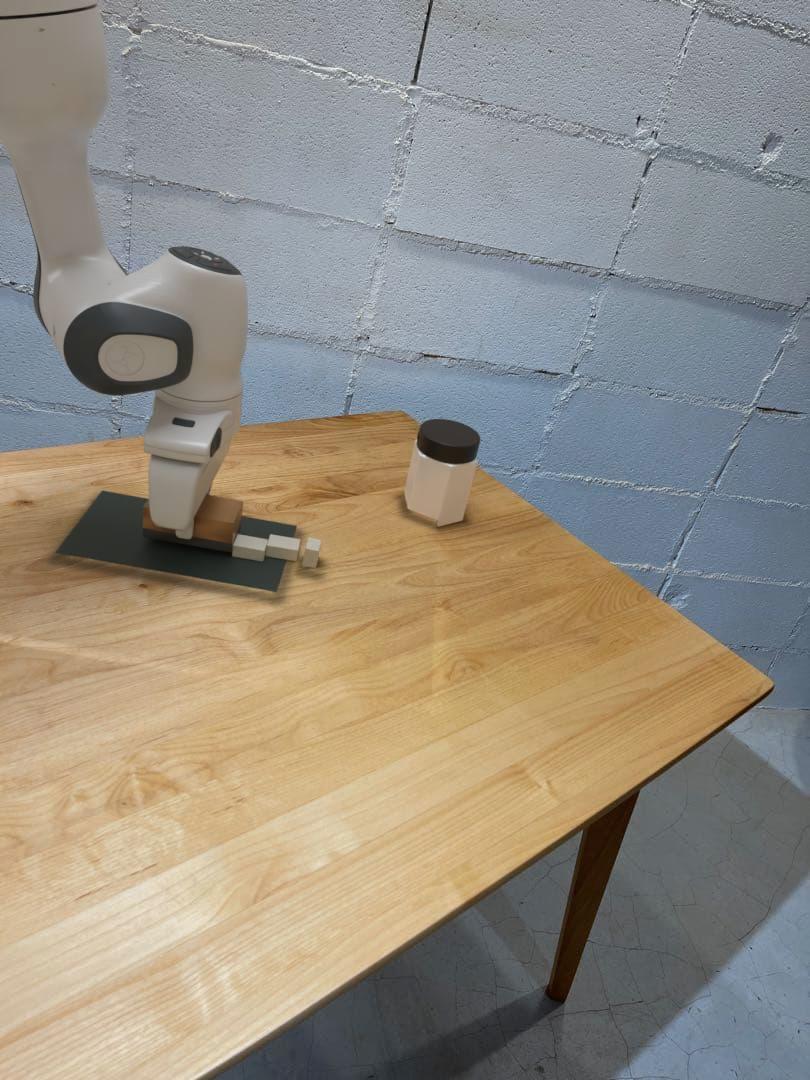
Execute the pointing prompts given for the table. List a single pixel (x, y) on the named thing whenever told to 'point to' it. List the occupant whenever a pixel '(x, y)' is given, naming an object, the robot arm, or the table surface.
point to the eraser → (203, 524)
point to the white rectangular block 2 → (283, 547)
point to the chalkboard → (168, 545)
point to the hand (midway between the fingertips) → (192, 520)
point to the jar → (442, 470)
